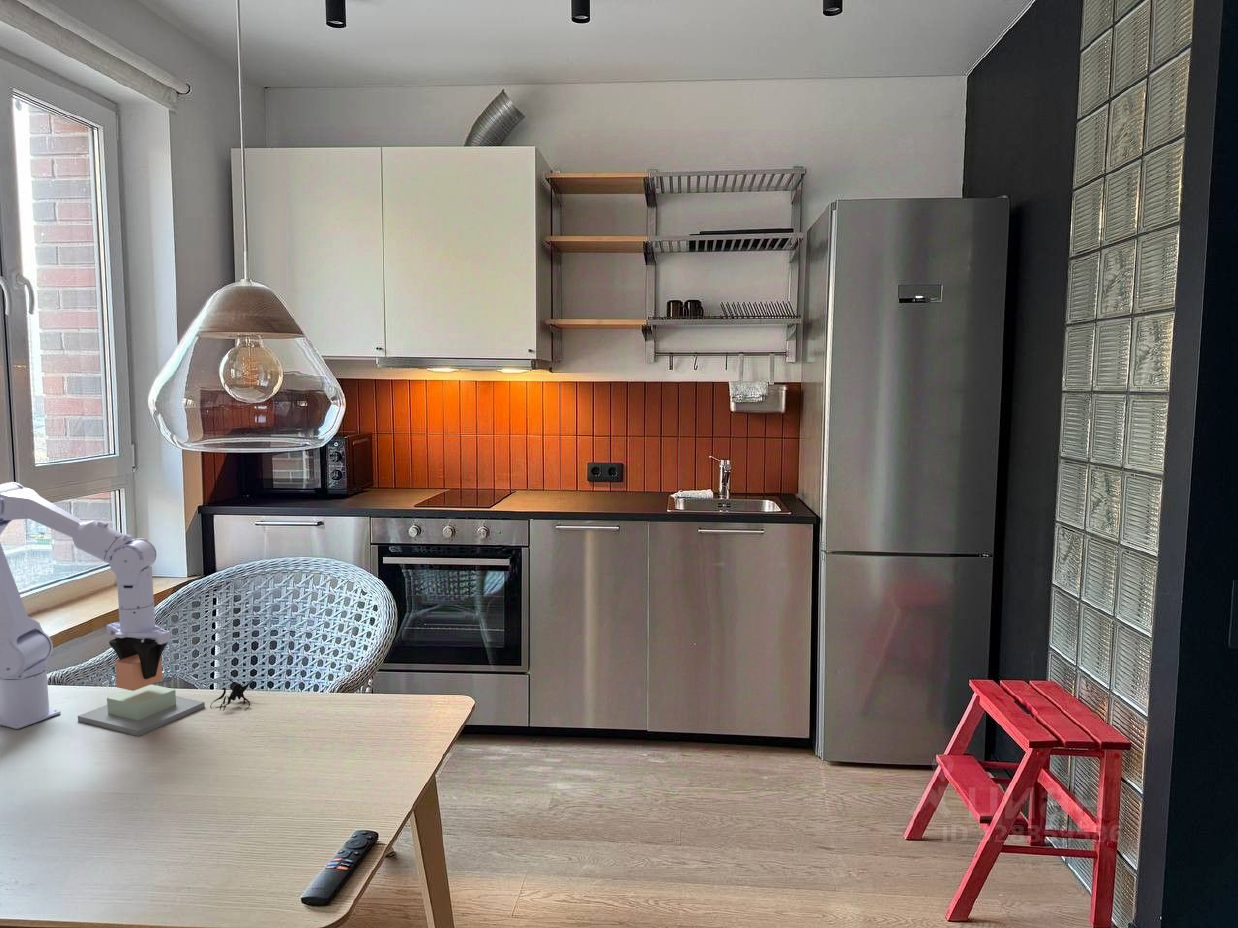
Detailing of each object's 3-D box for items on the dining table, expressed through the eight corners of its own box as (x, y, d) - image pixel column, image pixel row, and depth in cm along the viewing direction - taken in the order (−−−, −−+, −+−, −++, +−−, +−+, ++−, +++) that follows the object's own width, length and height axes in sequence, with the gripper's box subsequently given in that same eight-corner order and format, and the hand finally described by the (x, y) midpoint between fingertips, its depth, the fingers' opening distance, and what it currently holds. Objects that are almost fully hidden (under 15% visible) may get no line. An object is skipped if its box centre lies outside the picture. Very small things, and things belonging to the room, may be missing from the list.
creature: (242, 719, 157) (263, 695, 164) (238, 695, 155) (259, 671, 162) (203, 717, 157) (226, 693, 165) (198, 693, 156) (221, 670, 163)
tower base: (78, 720, 153) (76, 700, 152) (146, 694, 166) (145, 675, 165) (138, 735, 147) (137, 714, 146) (204, 706, 159) (203, 687, 159)
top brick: (117, 687, 153) (115, 661, 153) (146, 676, 159) (144, 651, 158) (133, 690, 152) (131, 664, 151) (162, 679, 157) (161, 654, 157)
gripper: (89, 606, 153) (94, 676, 154) (144, 615, 147) (148, 688, 149) (124, 597, 159) (129, 664, 161) (178, 605, 154) (182, 675, 155)
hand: (140, 675), depth 155 cm, fingers closed on top brick, 4 cm apart
